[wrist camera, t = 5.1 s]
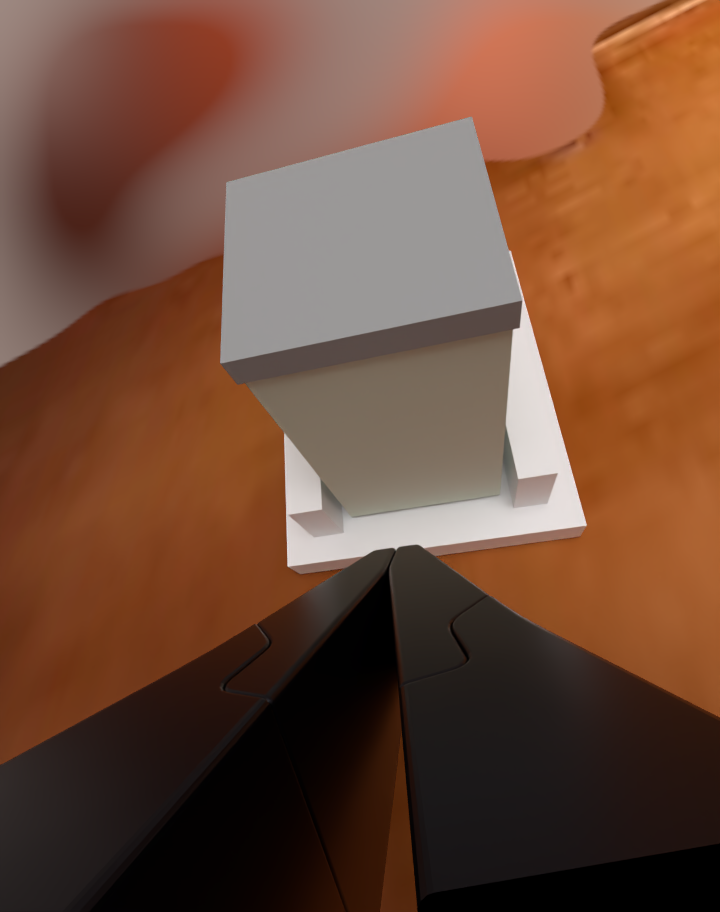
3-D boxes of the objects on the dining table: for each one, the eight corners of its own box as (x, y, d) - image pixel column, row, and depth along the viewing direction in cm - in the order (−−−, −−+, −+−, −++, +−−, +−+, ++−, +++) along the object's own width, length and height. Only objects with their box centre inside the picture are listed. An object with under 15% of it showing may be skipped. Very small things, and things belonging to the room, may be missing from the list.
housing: (579, 536, 20) (604, 497, 16) (300, 574, 21) (257, 548, 17) (509, 274, 25) (513, 195, 21) (291, 321, 27) (256, 256, 23)
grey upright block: (503, 496, 19) (522, 300, 9) (348, 519, 20) (220, 363, 10) (478, 376, 21) (471, 116, 11) (339, 402, 22) (226, 182, 12)
